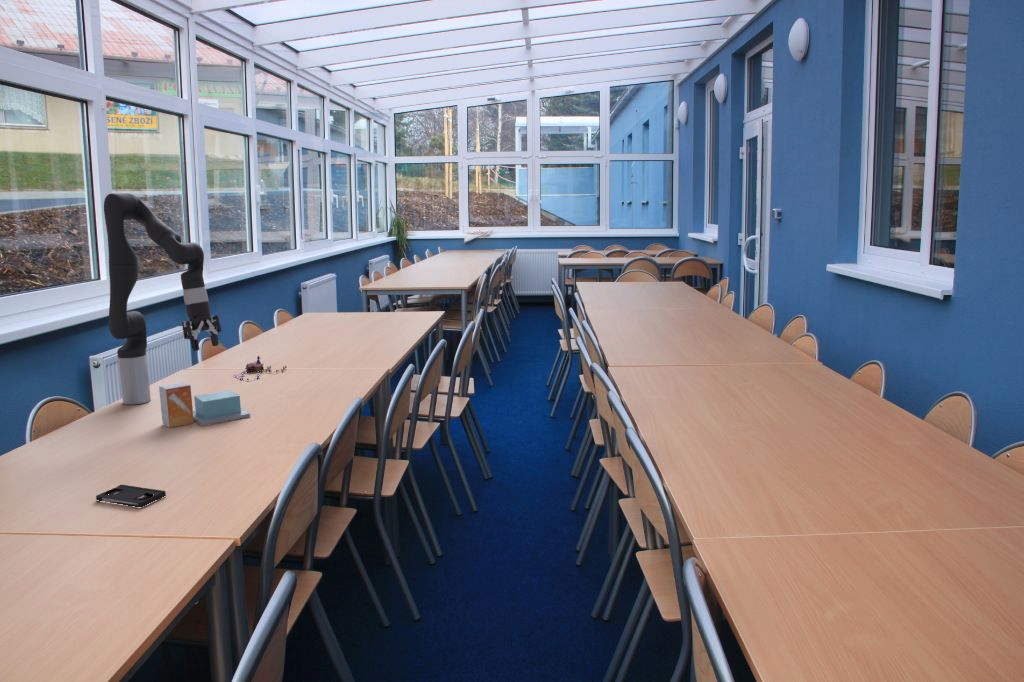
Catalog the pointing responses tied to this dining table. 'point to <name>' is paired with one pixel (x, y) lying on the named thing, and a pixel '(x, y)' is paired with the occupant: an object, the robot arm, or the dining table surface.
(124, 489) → the vhs tape
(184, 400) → the small box
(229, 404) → the tower base
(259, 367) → the playset
